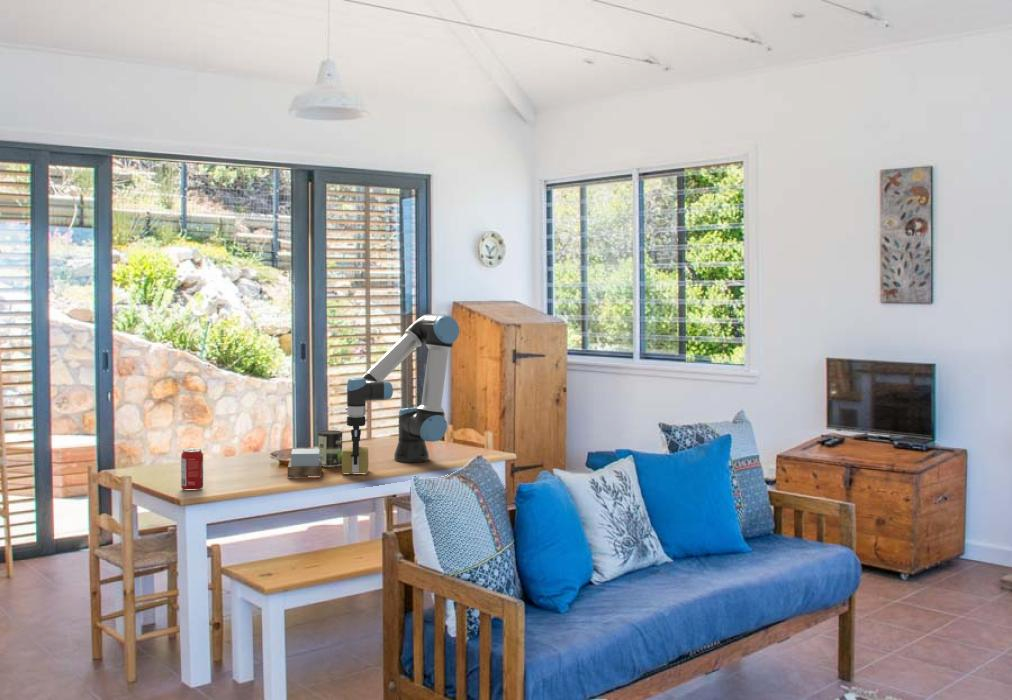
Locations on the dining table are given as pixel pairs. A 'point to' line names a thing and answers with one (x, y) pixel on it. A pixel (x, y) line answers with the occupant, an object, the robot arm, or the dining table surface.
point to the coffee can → (330, 448)
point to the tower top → (305, 457)
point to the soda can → (192, 469)
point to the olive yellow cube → (348, 460)
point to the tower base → (304, 470)
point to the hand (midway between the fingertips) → (355, 469)
